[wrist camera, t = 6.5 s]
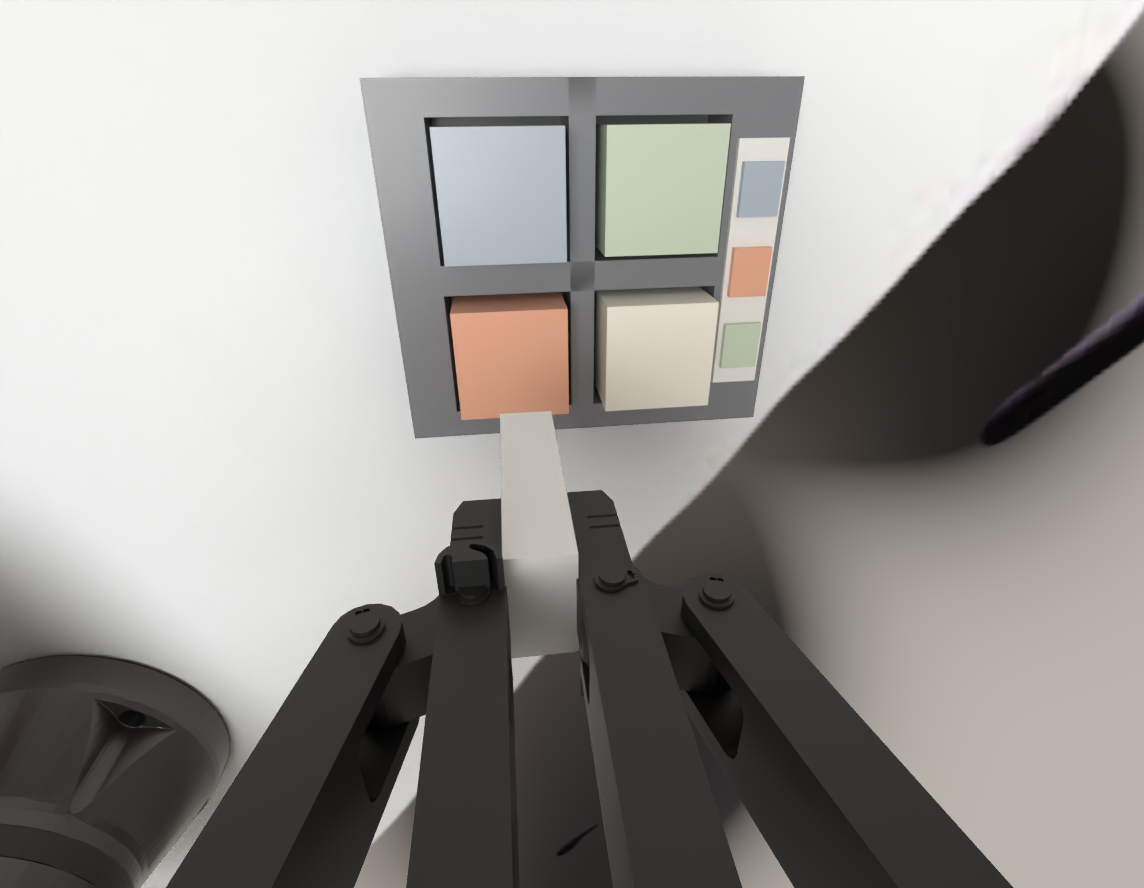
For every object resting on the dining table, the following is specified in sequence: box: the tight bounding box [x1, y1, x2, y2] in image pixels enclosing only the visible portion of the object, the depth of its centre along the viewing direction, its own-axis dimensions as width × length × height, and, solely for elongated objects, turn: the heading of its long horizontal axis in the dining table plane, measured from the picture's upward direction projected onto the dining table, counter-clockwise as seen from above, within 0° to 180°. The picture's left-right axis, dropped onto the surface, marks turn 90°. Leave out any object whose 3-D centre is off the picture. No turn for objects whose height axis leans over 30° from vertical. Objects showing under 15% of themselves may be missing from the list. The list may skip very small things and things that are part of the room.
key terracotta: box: [450, 292, 569, 420], centre depth 26 cm, size 5×5×3 cm
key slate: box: [430, 125, 567, 267], centre depth 23 cm, size 5×5×3 cm
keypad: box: [360, 76, 805, 438], centre depth 26 cm, size 14×16×4 cm
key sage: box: [595, 123, 731, 257], centre depth 24 cm, size 5×5×3 cm
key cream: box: [595, 286, 719, 411], centre depth 26 cm, size 5×5×3 cm
